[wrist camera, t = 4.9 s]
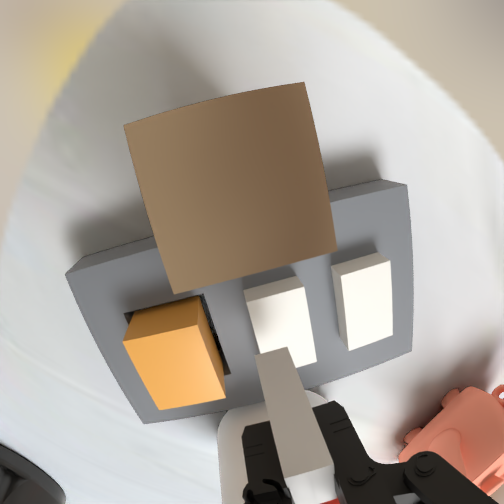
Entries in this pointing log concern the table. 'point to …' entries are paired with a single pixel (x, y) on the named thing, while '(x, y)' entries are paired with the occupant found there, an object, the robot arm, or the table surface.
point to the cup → (232, 449)
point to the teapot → (466, 436)
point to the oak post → (233, 185)
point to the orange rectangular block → (176, 354)
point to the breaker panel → (241, 378)
